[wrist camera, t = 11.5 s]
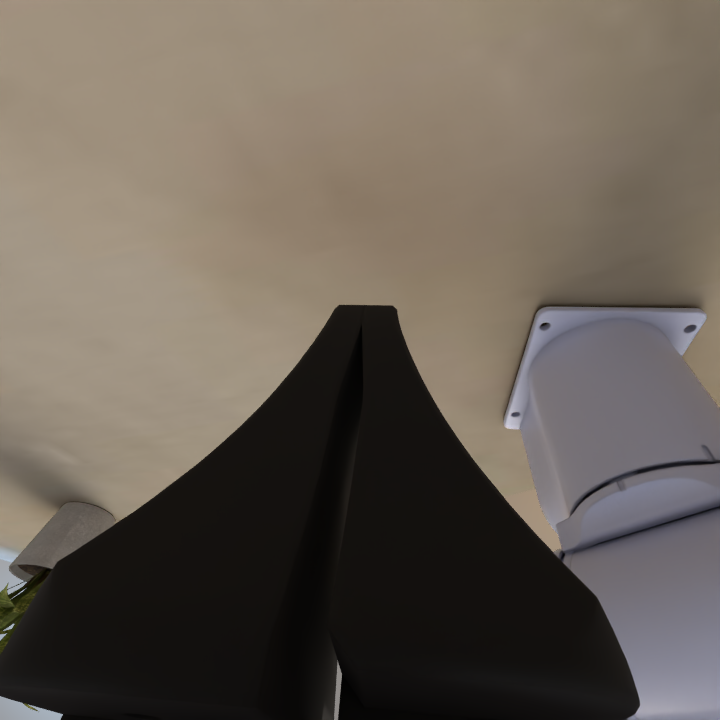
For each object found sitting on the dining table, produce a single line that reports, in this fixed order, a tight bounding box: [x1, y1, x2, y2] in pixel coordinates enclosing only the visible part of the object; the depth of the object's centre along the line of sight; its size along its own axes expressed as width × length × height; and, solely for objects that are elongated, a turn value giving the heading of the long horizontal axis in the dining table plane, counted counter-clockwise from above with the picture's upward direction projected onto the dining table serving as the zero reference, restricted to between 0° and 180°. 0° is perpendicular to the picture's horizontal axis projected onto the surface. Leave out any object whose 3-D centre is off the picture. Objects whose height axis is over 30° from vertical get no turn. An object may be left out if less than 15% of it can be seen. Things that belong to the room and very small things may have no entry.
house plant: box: [0, 502, 115, 711], centre depth 36 cm, size 14×14×16 cm
